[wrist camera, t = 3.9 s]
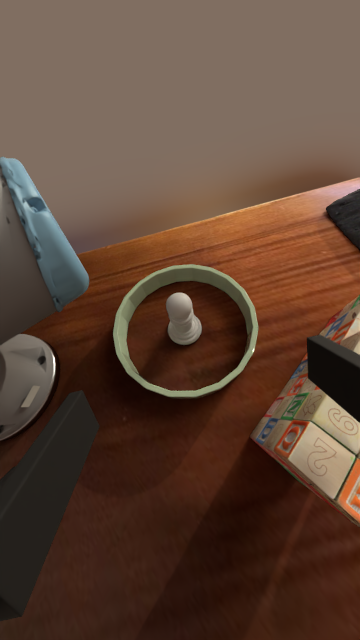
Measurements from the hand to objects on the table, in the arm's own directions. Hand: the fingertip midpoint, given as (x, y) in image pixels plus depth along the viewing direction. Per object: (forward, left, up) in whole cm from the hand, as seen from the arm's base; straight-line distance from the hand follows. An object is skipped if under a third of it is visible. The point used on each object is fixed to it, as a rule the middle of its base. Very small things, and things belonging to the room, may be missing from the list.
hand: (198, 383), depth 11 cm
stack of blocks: (+14, +6, -17) cm, 22 cm away
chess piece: (-5, +9, -17) cm, 20 cm away
